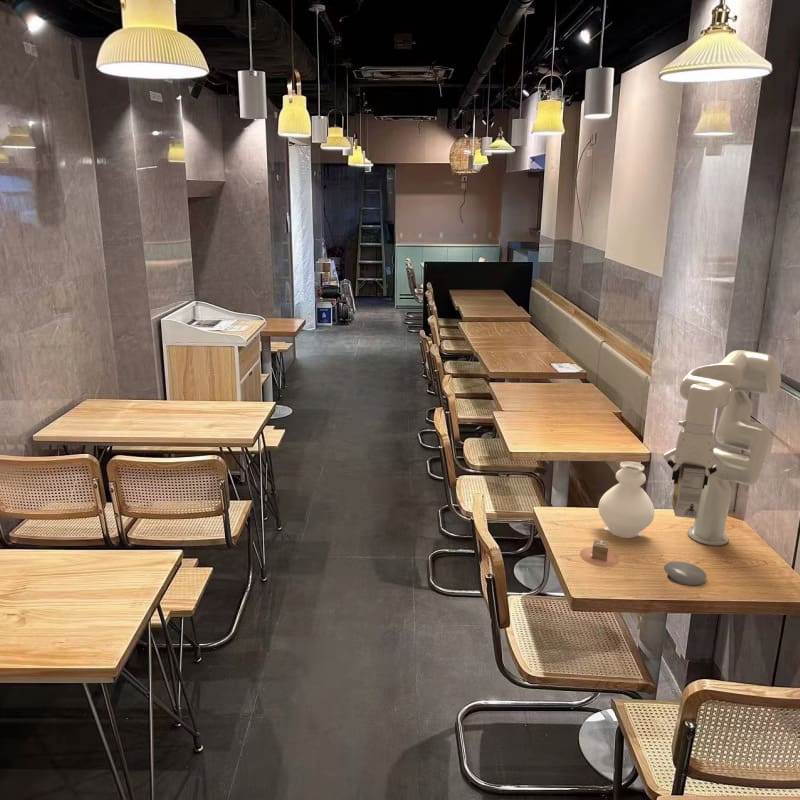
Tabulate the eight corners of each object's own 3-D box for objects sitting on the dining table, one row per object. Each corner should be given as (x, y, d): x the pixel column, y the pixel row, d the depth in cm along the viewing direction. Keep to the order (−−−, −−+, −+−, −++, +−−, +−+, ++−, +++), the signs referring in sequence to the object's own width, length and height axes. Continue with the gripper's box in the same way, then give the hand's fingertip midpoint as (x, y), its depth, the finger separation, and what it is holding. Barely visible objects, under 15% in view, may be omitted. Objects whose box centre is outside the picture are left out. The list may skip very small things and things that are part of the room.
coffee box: (670, 503, 210) (678, 454, 206) (693, 505, 209) (701, 456, 204) (674, 516, 202) (683, 465, 197) (698, 519, 201) (707, 468, 196)
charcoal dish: (663, 561, 217) (663, 558, 217) (704, 569, 214) (705, 566, 213) (663, 580, 207) (663, 577, 206) (706, 589, 203) (707, 585, 202)
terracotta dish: (581, 547, 225) (581, 544, 224) (620, 554, 221) (620, 551, 220) (577, 564, 214) (577, 561, 213) (617, 573, 210) (618, 569, 210)
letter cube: (592, 551, 220) (594, 538, 218) (607, 554, 218) (609, 541, 217) (591, 558, 216) (593, 544, 214) (606, 561, 214) (608, 547, 213)
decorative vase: (648, 526, 241) (658, 459, 233) (652, 551, 224) (663, 479, 217) (595, 519, 245) (603, 453, 237) (595, 542, 228) (604, 472, 221)
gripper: (665, 426, 197) (656, 484, 202) (732, 435, 191) (721, 495, 196) (666, 419, 204) (657, 475, 209) (730, 427, 198) (720, 485, 203)
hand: (688, 484), depth 203 cm, fingers closed on coffee box, 6 cm apart
